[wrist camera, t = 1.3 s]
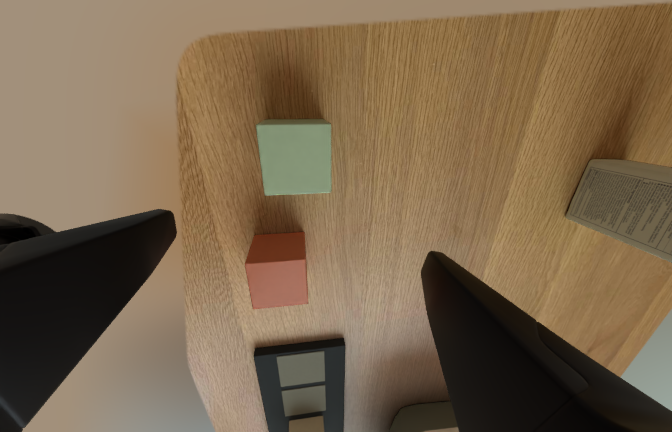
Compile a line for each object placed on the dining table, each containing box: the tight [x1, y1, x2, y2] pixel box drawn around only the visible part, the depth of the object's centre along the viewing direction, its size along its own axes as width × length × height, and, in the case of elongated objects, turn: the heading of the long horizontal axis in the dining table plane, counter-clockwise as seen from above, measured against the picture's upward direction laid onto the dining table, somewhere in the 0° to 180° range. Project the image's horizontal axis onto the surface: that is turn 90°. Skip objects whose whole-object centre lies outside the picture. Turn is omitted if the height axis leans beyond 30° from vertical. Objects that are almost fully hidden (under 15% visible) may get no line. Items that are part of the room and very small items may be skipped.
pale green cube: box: [256, 119, 332, 196], centre depth 18 cm, size 4×4×4 cm
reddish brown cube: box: [245, 232, 308, 309], centre depth 21 cm, size 4×4×4 cm
